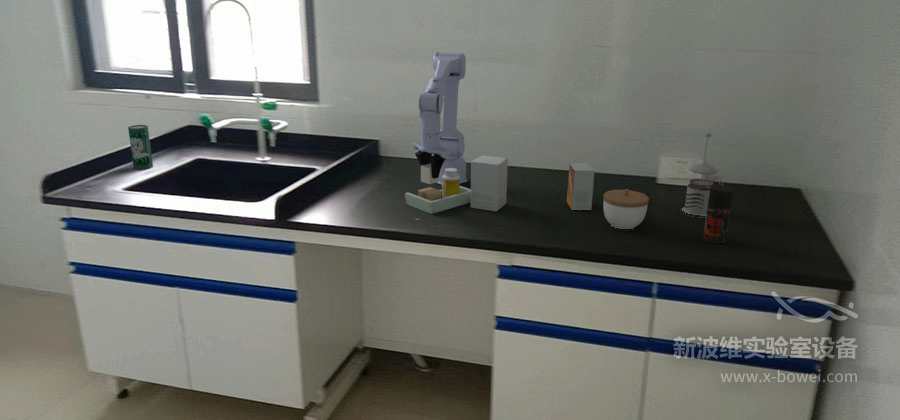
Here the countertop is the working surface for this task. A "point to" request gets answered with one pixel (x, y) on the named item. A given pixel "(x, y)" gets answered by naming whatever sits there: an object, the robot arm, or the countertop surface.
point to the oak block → (430, 194)
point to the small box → (580, 186)
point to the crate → (439, 201)
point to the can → (140, 147)
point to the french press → (697, 185)
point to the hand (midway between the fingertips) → (430, 176)
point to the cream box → (427, 174)
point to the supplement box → (488, 182)
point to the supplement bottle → (450, 182)
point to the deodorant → (718, 213)
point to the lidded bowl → (624, 208)
